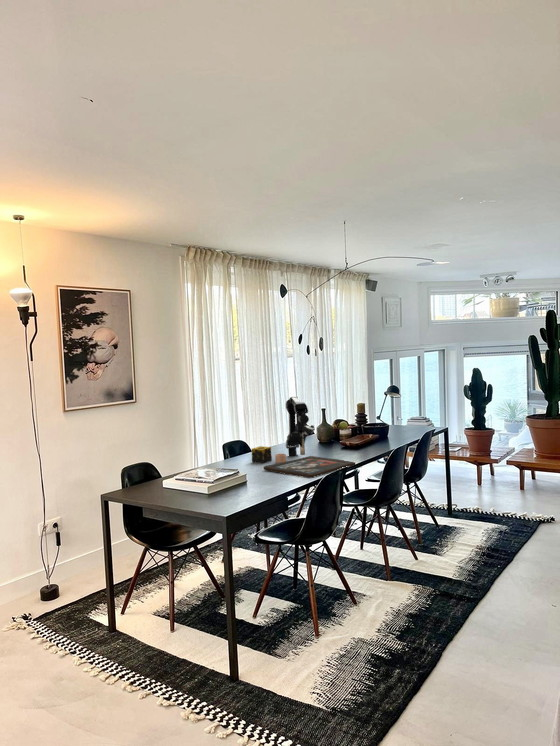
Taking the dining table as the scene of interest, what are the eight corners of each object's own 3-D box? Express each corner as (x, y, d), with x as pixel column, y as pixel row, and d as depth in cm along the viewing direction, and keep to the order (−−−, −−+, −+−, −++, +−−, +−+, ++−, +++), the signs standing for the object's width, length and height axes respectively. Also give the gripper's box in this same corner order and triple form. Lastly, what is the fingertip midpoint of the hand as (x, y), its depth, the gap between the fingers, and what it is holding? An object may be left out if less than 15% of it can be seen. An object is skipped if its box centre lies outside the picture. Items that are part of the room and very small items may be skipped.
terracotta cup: (278, 461, 377) (278, 453, 377) (288, 461, 374) (287, 453, 374) (273, 463, 371) (273, 455, 371) (283, 463, 368) (282, 455, 367)
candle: (260, 460, 385) (259, 446, 385) (272, 461, 379) (271, 446, 379) (251, 463, 377) (250, 448, 376) (263, 464, 371) (262, 449, 370)
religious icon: (261, 471, 349) (261, 466, 349) (309, 459, 381) (309, 455, 381) (309, 479, 320) (309, 474, 320) (356, 466, 352) (356, 461, 352)
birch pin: (301, 454, 363) (300, 438, 363) (305, 454, 362) (304, 439, 361) (299, 454, 361) (298, 439, 360) (303, 455, 359) (303, 439, 359)
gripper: (306, 424, 348) (307, 448, 349) (318, 420, 365) (319, 443, 365) (290, 424, 354) (291, 448, 354) (302, 420, 370) (304, 443, 371)
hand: (302, 445), depth 361 cm, fingers closed on birch pin, 3 cm apart
